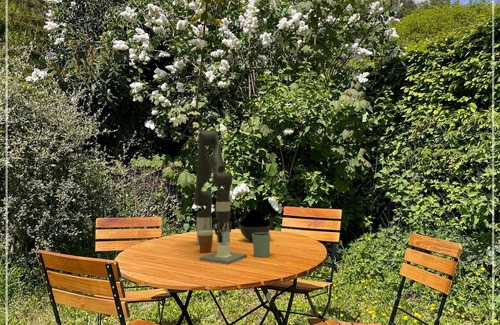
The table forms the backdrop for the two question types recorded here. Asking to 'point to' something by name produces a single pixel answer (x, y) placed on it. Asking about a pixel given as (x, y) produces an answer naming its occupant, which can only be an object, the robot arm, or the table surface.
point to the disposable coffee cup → (205, 240)
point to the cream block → (223, 250)
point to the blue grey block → (225, 237)
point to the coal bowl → (253, 225)
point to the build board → (223, 258)
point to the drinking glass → (261, 244)
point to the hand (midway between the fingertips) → (223, 241)
